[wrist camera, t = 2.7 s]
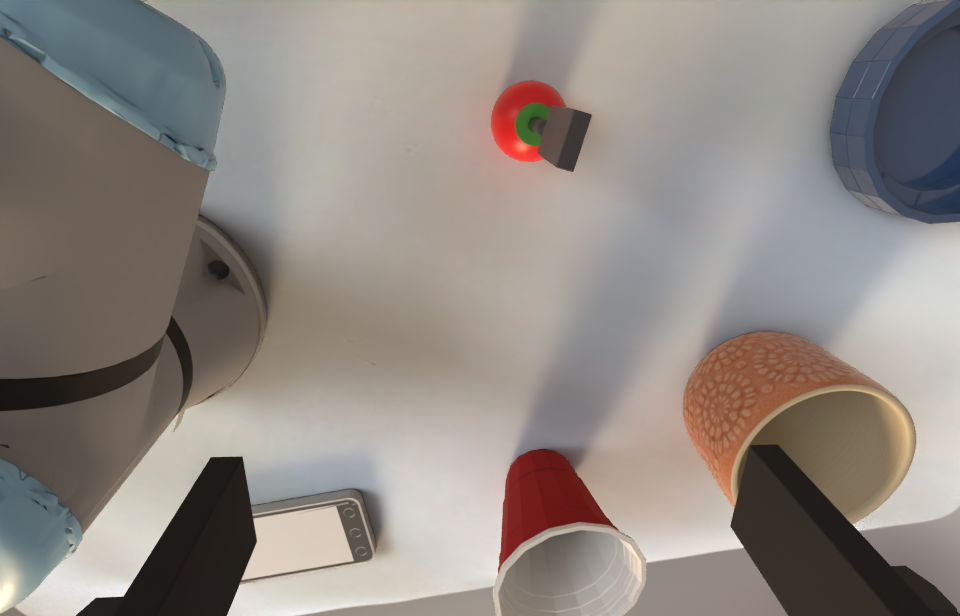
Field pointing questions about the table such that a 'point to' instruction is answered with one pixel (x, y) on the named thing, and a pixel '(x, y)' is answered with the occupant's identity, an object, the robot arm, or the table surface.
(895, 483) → the planter
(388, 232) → the table surface
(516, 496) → the plastic cup
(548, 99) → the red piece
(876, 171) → the dish
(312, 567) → the smartphone
